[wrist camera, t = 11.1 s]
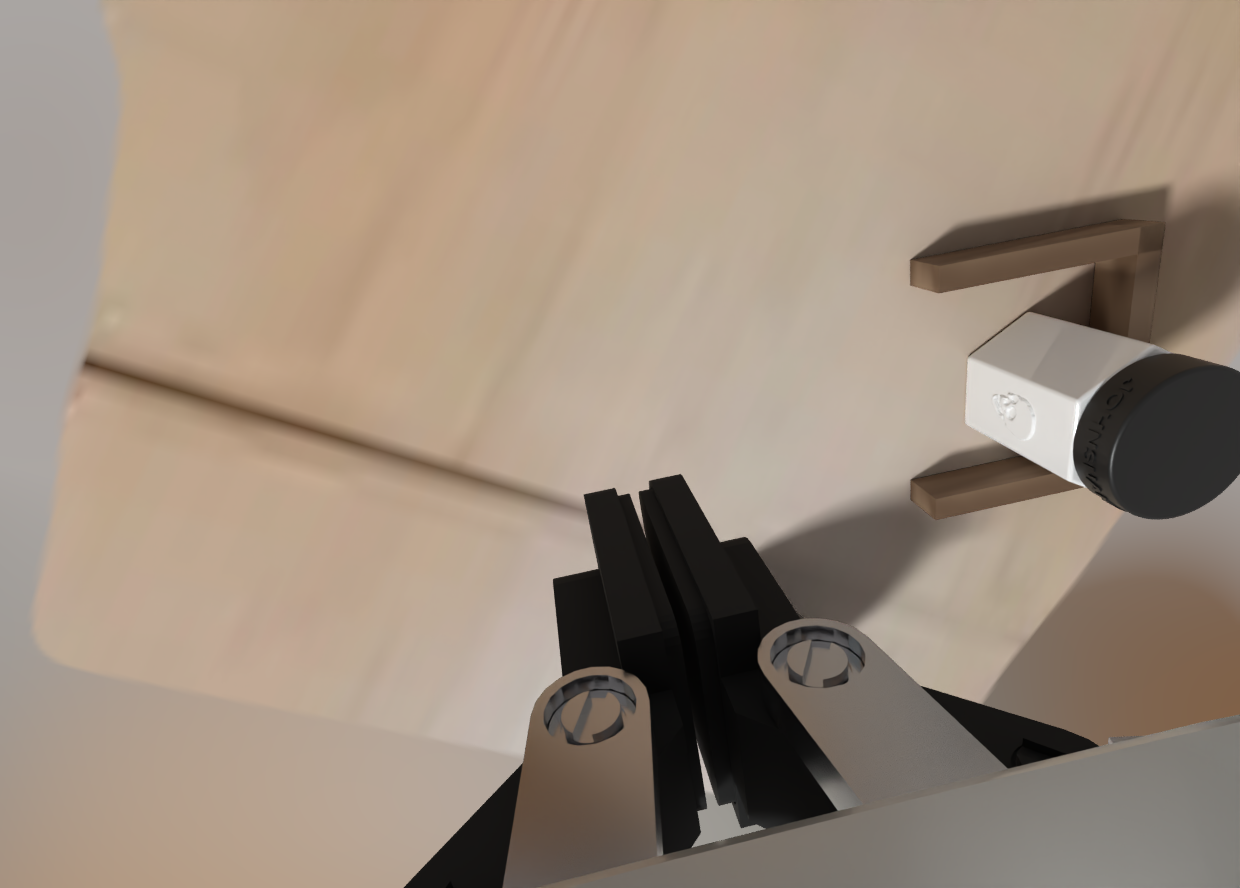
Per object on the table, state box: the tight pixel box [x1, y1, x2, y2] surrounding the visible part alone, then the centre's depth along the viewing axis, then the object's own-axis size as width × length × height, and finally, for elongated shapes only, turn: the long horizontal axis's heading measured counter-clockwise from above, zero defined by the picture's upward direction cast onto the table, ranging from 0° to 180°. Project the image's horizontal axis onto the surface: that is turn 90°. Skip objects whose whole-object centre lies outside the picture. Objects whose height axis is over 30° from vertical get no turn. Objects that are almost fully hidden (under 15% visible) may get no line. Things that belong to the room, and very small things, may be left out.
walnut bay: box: [910, 219, 1166, 520], centre depth 43 cm, size 16×14×3 cm
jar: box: [965, 312, 1240, 519], centre depth 39 cm, size 9×8×12 cm
